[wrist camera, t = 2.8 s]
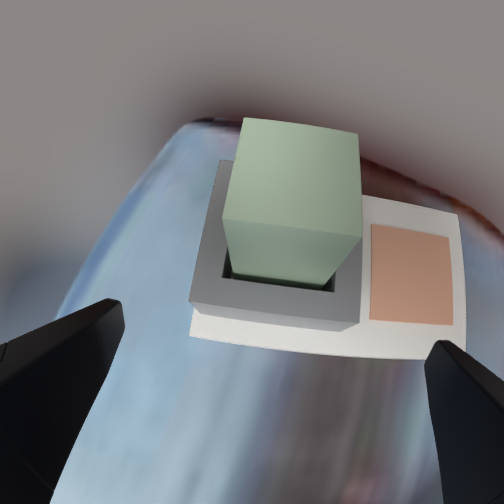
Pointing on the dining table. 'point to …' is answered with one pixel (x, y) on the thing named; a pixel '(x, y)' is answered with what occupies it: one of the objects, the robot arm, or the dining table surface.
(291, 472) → the dining table surface
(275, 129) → the plug
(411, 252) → the white board with socket
